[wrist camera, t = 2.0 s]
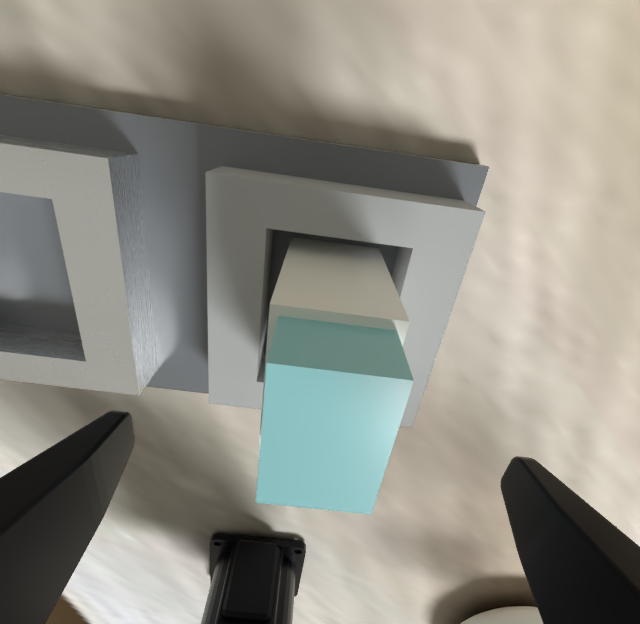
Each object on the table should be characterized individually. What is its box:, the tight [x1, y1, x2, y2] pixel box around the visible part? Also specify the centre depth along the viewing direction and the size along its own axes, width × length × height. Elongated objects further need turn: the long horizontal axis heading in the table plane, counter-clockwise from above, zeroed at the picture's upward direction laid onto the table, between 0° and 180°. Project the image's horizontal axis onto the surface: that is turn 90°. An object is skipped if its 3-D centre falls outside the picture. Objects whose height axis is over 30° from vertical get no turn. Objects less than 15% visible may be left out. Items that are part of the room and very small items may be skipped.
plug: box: [256, 237, 414, 514], centre depth 12 cm, size 4×5×8 cm
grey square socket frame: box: [205, 166, 485, 427], centre depth 14 cm, size 9×10×2 cm
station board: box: [0, 94, 489, 394], centre depth 15 cm, size 22×12×1 cm, turn 82°
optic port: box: [0, 134, 159, 395], centre depth 14 cm, size 9×10×2 cm
